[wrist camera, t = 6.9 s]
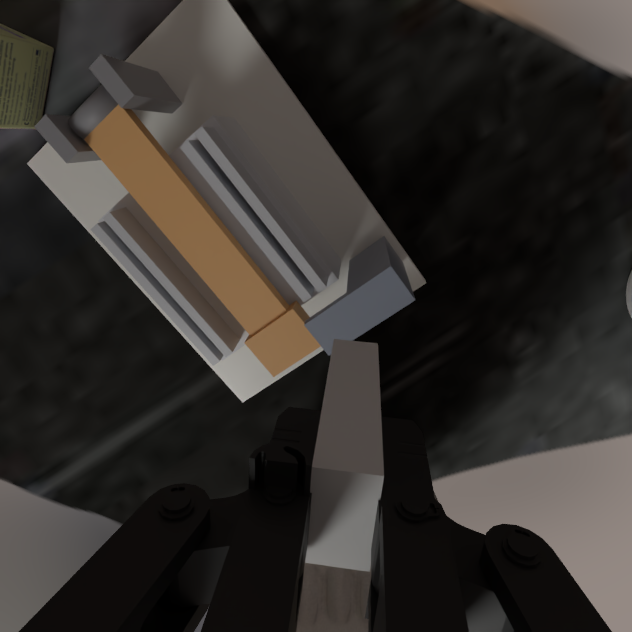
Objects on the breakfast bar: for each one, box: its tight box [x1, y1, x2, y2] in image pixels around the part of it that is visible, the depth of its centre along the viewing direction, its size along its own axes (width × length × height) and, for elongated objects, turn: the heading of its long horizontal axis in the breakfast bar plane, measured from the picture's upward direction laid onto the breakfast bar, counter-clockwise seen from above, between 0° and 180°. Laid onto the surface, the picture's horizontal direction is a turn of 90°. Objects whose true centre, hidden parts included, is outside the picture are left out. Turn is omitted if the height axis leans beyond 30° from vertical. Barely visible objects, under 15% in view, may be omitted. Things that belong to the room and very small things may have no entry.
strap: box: [68, 84, 321, 377], centre depth 28 cm, size 19×4×2 cm, turn 37°
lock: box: [304, 236, 415, 355], centre depth 30 cm, size 2×6×8 cm, turn 128°
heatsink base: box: [27, 0, 426, 402], centre depth 30 cm, size 24×18×8 cm
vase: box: [296, 493, 438, 632], centre depth 27 cm, size 13×13×28 cm
